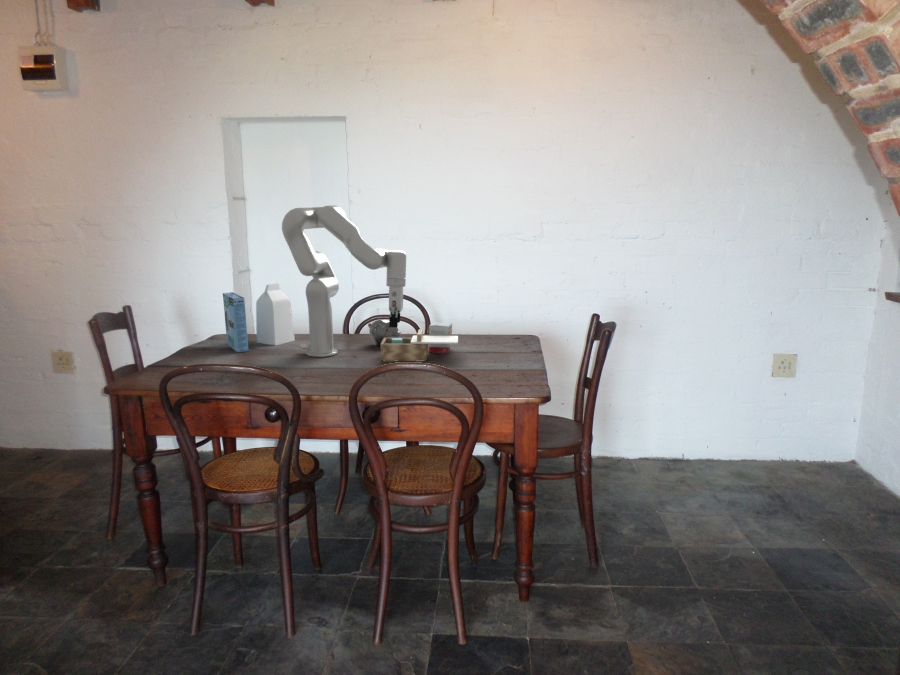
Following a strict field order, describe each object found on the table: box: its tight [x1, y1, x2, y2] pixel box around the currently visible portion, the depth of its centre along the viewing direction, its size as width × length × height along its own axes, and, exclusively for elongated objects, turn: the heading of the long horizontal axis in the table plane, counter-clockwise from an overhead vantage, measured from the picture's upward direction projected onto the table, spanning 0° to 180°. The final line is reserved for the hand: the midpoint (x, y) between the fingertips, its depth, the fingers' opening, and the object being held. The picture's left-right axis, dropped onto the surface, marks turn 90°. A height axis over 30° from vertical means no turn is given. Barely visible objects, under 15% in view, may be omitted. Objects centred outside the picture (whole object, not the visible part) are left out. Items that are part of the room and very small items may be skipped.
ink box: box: [428, 321, 453, 354], centre depth 266 cm, size 9×9×12 cm
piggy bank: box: [367, 318, 402, 347], centre depth 276 cm, size 11×15×12 cm
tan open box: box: [379, 337, 429, 363], centre depth 254 cm, size 18×12×7 cm, turn 89°
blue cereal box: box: [222, 291, 249, 353], centre depth 269 cm, size 20×5×23 cm, turn 31°
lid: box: [411, 329, 459, 345], centre depth 253 cm, size 19×13×4 cm
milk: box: [255, 283, 296, 346], centre depth 282 cm, size 12×12×26 cm
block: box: [392, 337, 403, 344], centre depth 254 cm, size 4×4×7 cm
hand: (394, 324), depth 253 cm, fingers open, 9 cm apart
